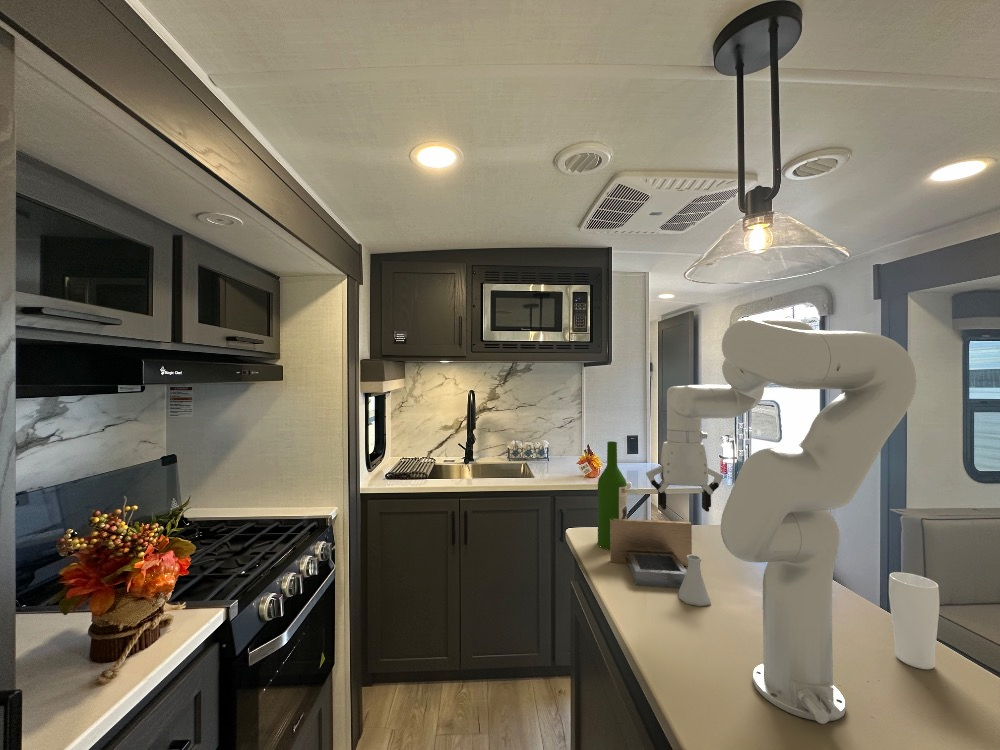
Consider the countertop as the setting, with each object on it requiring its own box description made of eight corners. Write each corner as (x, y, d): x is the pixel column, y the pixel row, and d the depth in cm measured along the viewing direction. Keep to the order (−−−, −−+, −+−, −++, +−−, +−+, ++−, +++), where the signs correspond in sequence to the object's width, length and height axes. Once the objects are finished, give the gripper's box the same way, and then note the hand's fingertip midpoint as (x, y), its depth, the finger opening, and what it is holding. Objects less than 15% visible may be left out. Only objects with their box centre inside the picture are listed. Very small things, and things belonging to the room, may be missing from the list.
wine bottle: (621, 552, 132) (621, 444, 133) (593, 546, 137) (593, 442, 138) (630, 544, 140) (630, 441, 140) (603, 538, 145) (603, 439, 145)
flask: (717, 607, 100) (716, 563, 100) (685, 607, 100) (684, 563, 100) (702, 592, 107) (702, 551, 108) (673, 592, 107) (672, 551, 108)
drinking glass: (880, 650, 84) (879, 571, 84) (916, 651, 84) (915, 571, 84) (912, 673, 77) (910, 587, 78) (951, 674, 77) (950, 588, 77)
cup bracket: (708, 589, 109) (708, 541, 109) (617, 584, 111) (617, 536, 112) (690, 564, 124) (690, 522, 124) (610, 560, 127) (610, 518, 127)
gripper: (716, 436, 108) (717, 506, 107) (643, 434, 110) (643, 503, 110) (727, 440, 100) (728, 515, 100) (649, 438, 103) (649, 512, 102)
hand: (684, 509), depth 105 cm, fingers open, 9 cm apart
